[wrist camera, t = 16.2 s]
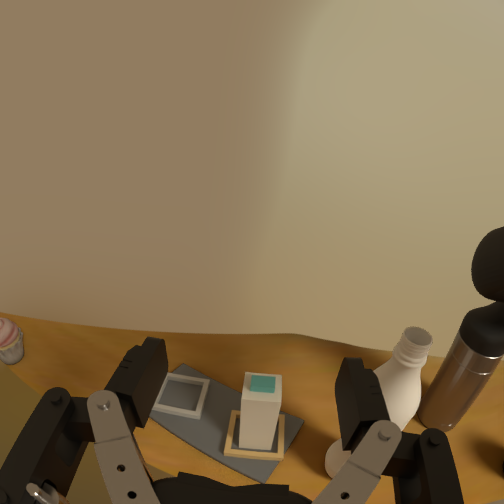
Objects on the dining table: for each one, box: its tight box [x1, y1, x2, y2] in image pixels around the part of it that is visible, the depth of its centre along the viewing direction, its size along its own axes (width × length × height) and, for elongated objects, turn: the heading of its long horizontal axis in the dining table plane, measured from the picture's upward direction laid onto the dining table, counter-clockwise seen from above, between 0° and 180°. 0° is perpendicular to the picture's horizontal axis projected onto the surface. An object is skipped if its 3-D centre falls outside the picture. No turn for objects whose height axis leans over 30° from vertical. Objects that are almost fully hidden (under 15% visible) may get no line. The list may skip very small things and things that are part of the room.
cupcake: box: [0, 318, 24, 365], centre depth 41 cm, size 9×9×10 cm
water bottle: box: [325, 327, 433, 478], centre depth 26 cm, size 7×7×25 cm
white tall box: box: [239, 372, 282, 450], centre depth 34 cm, size 4×4×13 cm
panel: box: [149, 363, 304, 484], centre depth 40 cm, size 13×25×2 cm, turn 60°
